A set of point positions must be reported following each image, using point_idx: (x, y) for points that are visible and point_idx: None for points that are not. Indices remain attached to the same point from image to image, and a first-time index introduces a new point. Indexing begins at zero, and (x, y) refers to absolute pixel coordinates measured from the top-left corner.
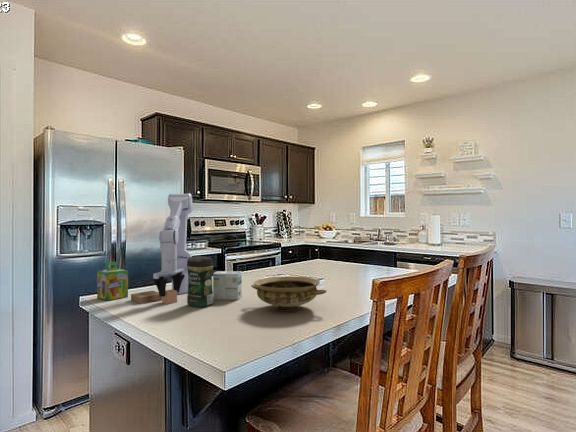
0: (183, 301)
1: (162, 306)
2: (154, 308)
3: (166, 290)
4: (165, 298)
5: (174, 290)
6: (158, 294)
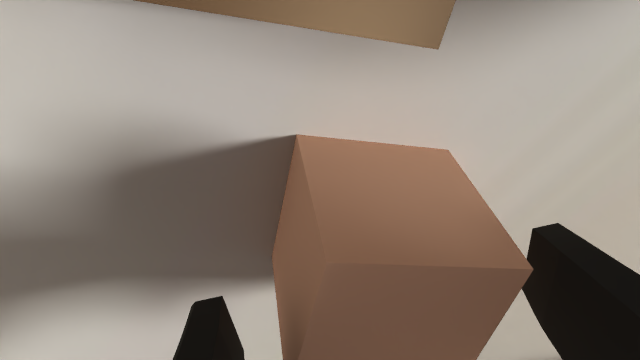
0: None
1: (165, 308)
2: (46, 322)
3: (409, 278)
4: (284, 274)
5: (468, 352)
6: (354, 32)
